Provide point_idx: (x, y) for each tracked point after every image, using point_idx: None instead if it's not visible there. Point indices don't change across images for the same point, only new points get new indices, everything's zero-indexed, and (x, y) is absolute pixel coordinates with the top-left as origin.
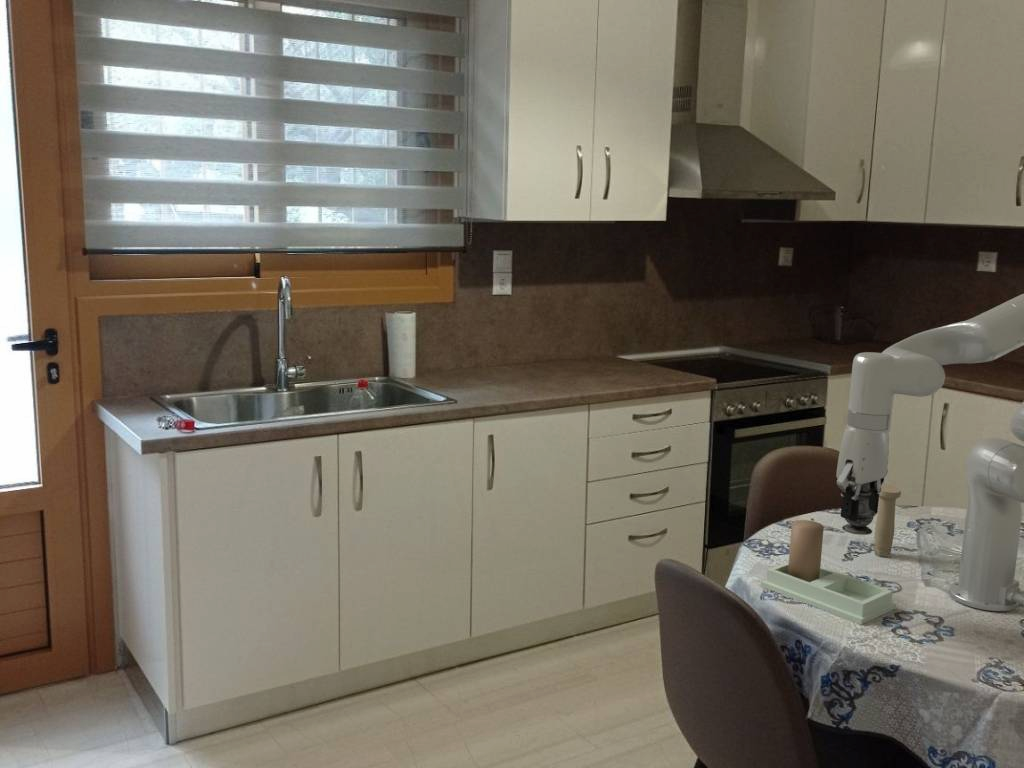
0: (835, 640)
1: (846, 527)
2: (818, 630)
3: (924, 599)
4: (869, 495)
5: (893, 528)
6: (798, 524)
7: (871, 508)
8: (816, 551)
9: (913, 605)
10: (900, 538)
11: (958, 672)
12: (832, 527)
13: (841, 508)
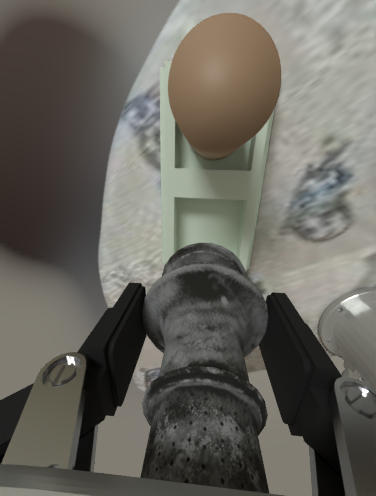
0: (101, 261)
1: (175, 267)
2: (106, 235)
3: (307, 277)
4: (287, 387)
5: None
6: (204, 56)
7: (265, 345)
8: (205, 153)
9: (274, 276)
10: None
11: (145, 358)
12: None
13: (117, 301)
